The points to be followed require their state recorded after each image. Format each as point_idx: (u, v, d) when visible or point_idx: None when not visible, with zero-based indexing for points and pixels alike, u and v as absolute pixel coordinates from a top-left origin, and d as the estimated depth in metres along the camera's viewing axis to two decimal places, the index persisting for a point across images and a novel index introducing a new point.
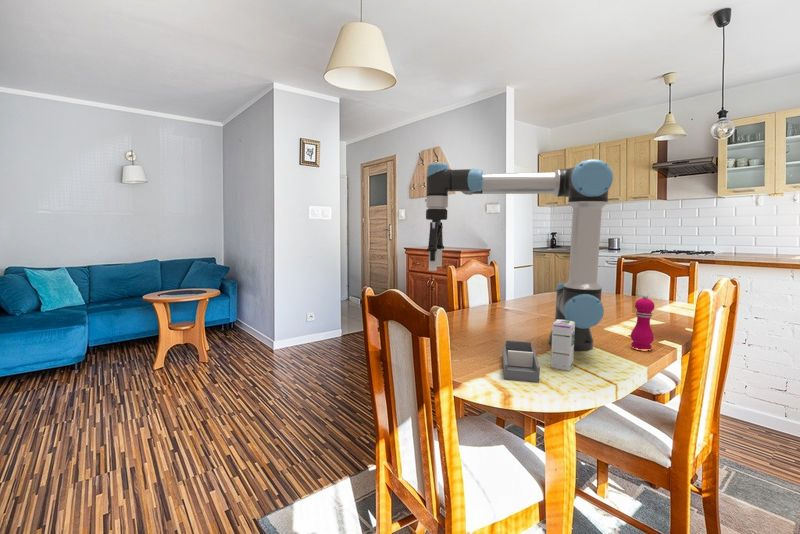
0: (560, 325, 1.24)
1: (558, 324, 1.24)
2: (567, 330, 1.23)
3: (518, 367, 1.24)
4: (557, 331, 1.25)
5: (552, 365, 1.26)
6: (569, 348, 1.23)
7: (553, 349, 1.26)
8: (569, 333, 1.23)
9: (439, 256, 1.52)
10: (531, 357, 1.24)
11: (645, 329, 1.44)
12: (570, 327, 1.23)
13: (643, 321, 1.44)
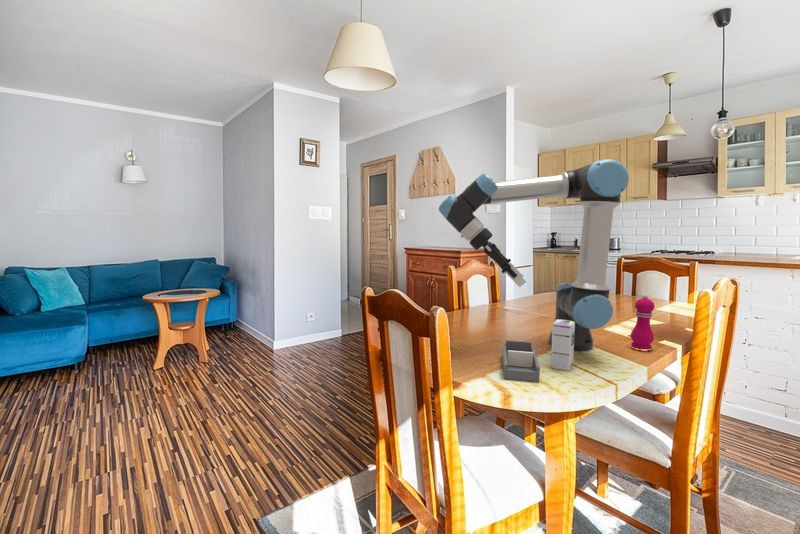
0: (560, 325, 1.24)
1: (558, 324, 1.24)
2: (567, 330, 1.23)
3: (518, 367, 1.24)
4: (557, 331, 1.25)
5: (552, 365, 1.26)
6: (569, 348, 1.23)
7: (553, 349, 1.26)
8: (569, 333, 1.23)
9: None
10: (531, 357, 1.24)
11: (645, 329, 1.44)
12: (570, 327, 1.23)
13: (643, 321, 1.44)
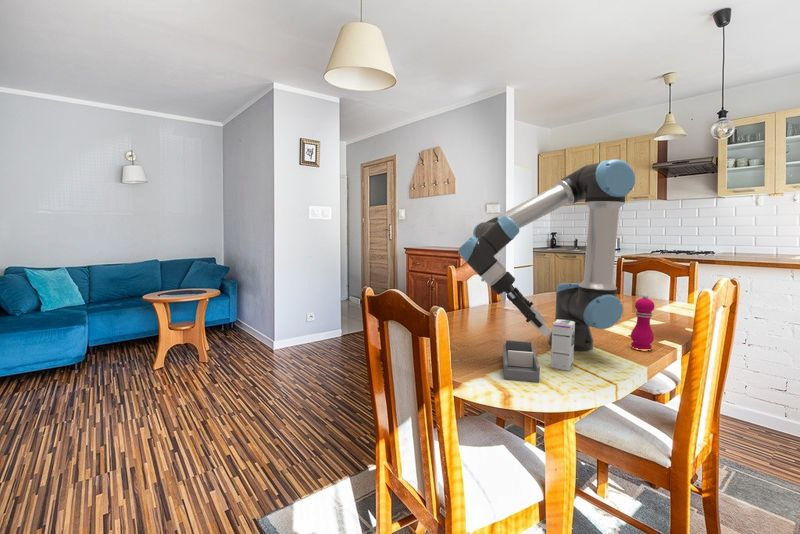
0: (560, 325, 1.24)
1: (558, 324, 1.24)
2: (567, 330, 1.23)
3: (518, 367, 1.24)
4: (557, 331, 1.25)
5: (552, 365, 1.26)
6: (569, 348, 1.23)
7: (553, 349, 1.26)
8: (569, 333, 1.23)
9: (536, 313, 1.34)
10: (531, 357, 1.24)
11: (645, 329, 1.44)
12: (570, 327, 1.23)
13: (643, 321, 1.44)
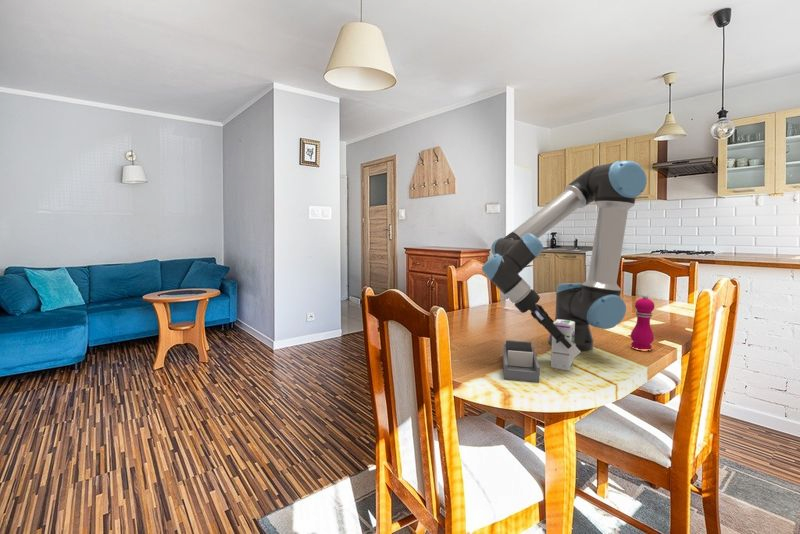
0: (560, 325, 1.24)
1: (558, 324, 1.24)
2: (567, 330, 1.23)
3: (518, 367, 1.24)
4: None
5: (552, 365, 1.26)
6: None
7: (553, 349, 1.26)
8: (569, 333, 1.23)
9: None
10: (531, 357, 1.24)
11: (645, 329, 1.44)
12: (570, 327, 1.23)
13: (643, 321, 1.44)
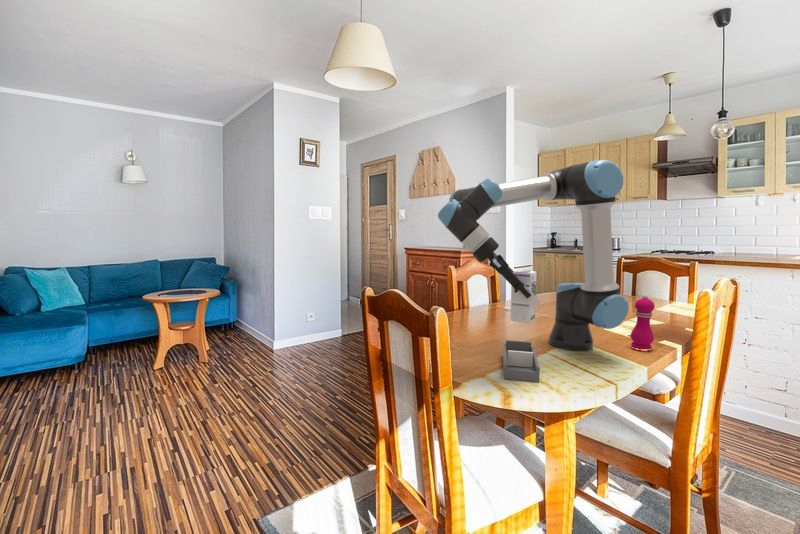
0: (519, 274, 1.15)
1: (518, 272, 1.16)
2: (527, 279, 1.14)
3: (518, 367, 1.24)
4: None
5: (512, 318, 1.18)
6: None
7: (513, 300, 1.17)
8: (529, 282, 1.14)
9: None
10: (531, 357, 1.24)
11: (645, 329, 1.44)
12: (530, 276, 1.14)
13: (643, 321, 1.44)
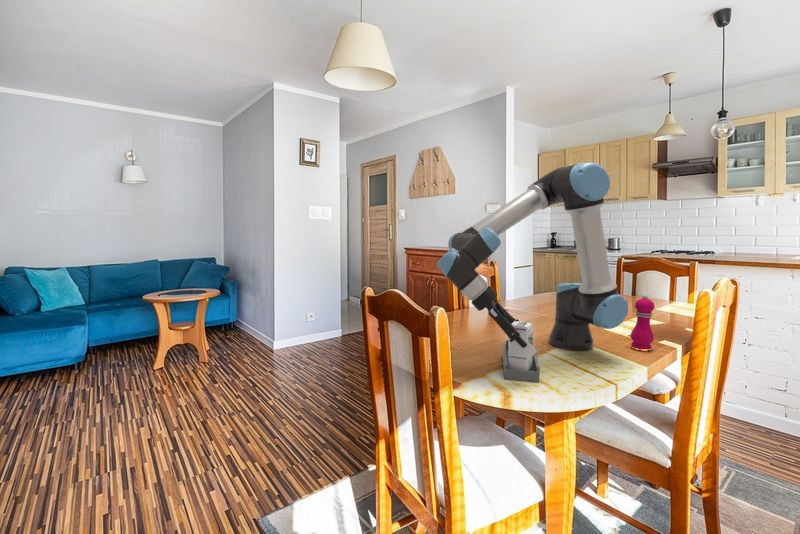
0: (516, 328, 1.17)
1: (514, 326, 1.18)
2: (523, 333, 1.16)
3: None
4: None
5: None
6: None
7: (510, 353, 1.19)
8: (525, 336, 1.16)
9: None
10: None
11: (645, 329, 1.44)
12: (526, 330, 1.16)
13: (643, 321, 1.44)
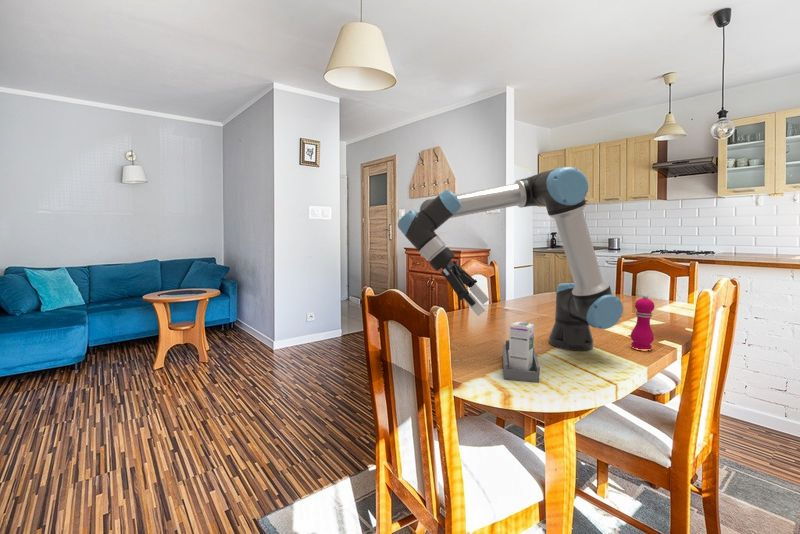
0: (517, 328, 1.17)
1: (516, 326, 1.17)
2: (524, 333, 1.16)
3: None
4: (514, 334, 1.18)
5: None
6: (527, 352, 1.16)
7: (511, 353, 1.19)
8: (527, 336, 1.16)
9: (479, 292, 1.29)
10: None
11: (645, 329, 1.44)
12: (528, 330, 1.16)
13: (643, 321, 1.44)
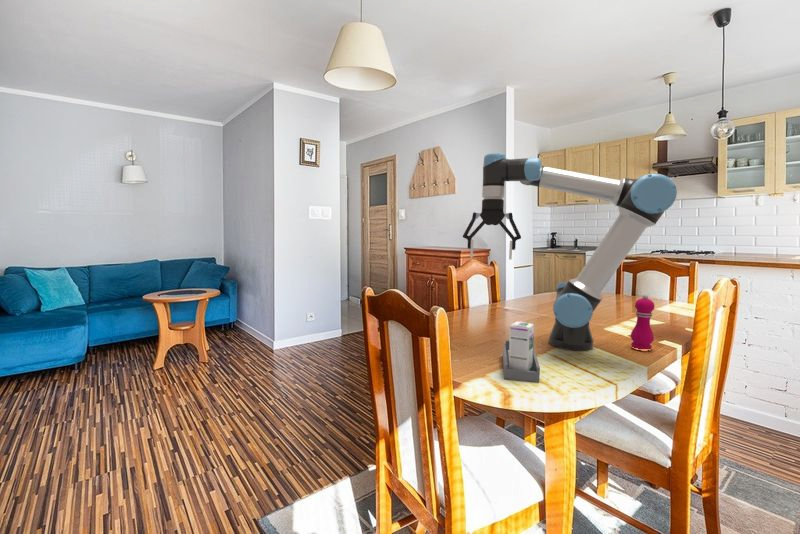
0: (517, 328, 1.17)
1: (516, 326, 1.17)
2: (524, 333, 1.16)
3: None
4: (514, 334, 1.18)
5: None
6: (527, 352, 1.16)
7: (511, 353, 1.19)
8: (527, 336, 1.16)
9: None
10: None
11: (645, 329, 1.44)
12: (528, 330, 1.16)
13: (643, 321, 1.44)
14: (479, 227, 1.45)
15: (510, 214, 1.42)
